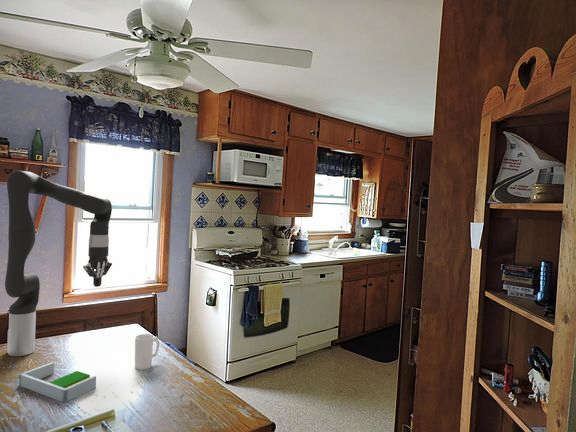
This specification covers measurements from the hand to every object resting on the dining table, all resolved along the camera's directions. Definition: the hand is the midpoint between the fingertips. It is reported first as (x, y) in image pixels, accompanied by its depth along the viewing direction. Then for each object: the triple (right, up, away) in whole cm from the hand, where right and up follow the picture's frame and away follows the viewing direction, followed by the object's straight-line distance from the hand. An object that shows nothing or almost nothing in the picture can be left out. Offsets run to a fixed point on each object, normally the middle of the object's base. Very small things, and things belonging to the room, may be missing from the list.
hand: (97, 286), depth 167 cm
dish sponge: (+2, -31, -27) cm, 41 cm away
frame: (0, -30, -28) cm, 41 cm away
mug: (+23, -31, -7) cm, 39 cm away
